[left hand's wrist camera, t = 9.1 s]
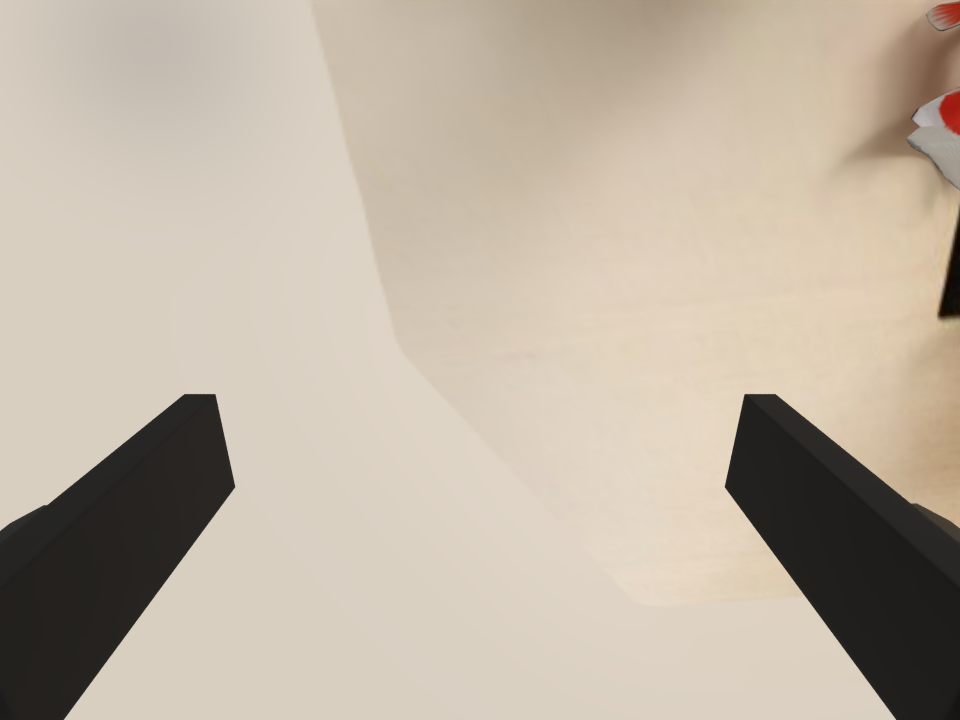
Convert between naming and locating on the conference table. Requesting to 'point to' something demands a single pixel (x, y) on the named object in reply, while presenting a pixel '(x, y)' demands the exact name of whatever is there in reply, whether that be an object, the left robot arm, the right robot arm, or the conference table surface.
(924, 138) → the fish
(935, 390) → the conference table surface
